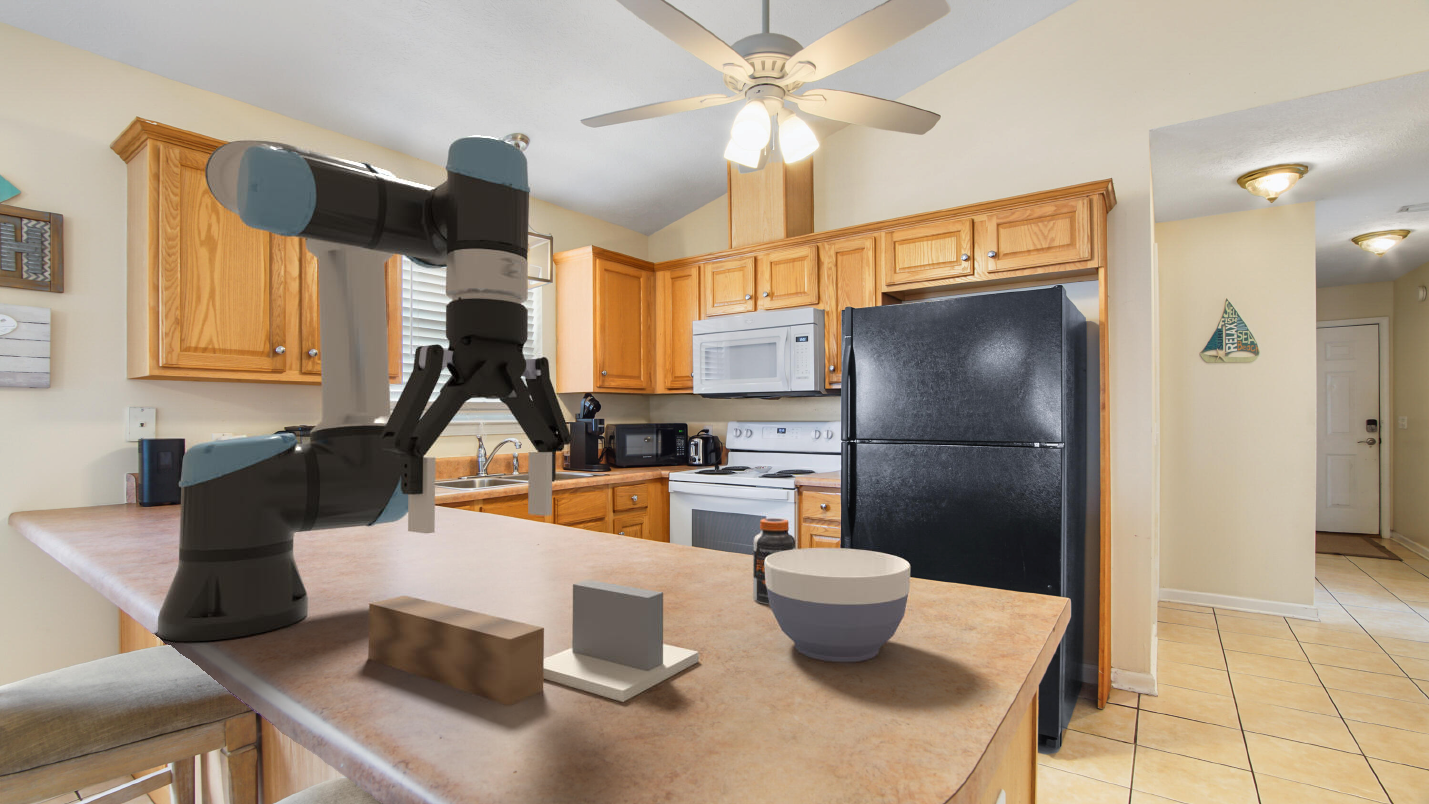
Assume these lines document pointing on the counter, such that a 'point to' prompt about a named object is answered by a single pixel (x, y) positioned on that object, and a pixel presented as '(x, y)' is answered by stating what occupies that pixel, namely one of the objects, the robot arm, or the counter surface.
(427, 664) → the beam
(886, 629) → the bowl
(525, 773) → the counter surface
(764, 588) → the pill bottle
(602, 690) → the stand
